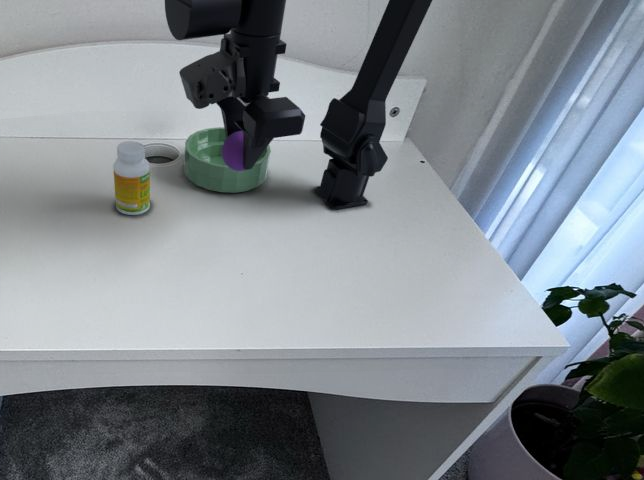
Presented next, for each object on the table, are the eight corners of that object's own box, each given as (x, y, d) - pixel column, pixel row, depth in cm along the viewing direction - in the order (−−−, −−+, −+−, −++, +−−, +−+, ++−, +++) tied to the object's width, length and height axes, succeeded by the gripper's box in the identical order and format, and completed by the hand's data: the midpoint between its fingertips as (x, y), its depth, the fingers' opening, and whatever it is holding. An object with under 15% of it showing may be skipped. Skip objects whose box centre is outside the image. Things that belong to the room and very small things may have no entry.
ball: (247, 158, 71) (252, 122, 68) (262, 175, 68) (268, 138, 64) (214, 162, 70) (217, 126, 66) (228, 180, 67) (232, 143, 63)
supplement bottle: (145, 218, 77) (144, 158, 70) (111, 213, 78) (107, 153, 70) (153, 200, 81) (153, 141, 73) (121, 195, 81) (118, 136, 74)
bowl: (246, 150, 93) (249, 123, 90) (279, 189, 84) (285, 161, 81) (173, 159, 90) (174, 132, 86) (200, 201, 81) (202, 172, 77)
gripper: (162, 10, 61) (162, 137, 72) (221, 64, 49) (209, 205, 61) (246, 4, 63) (233, 128, 75) (321, 54, 52) (291, 191, 63)
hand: (239, 160), depth 68 cm, fingers closed on ball, 5 cm apart
